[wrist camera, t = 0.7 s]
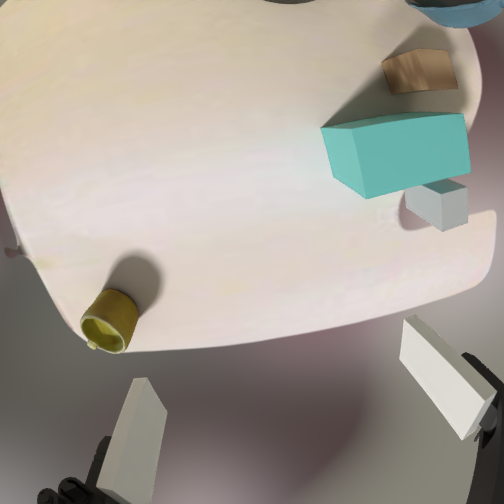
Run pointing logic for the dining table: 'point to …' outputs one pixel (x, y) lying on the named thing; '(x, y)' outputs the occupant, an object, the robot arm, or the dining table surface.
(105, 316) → the mug
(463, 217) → the grey block
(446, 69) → the walnut block
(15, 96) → the dining table surface
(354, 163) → the teal block
